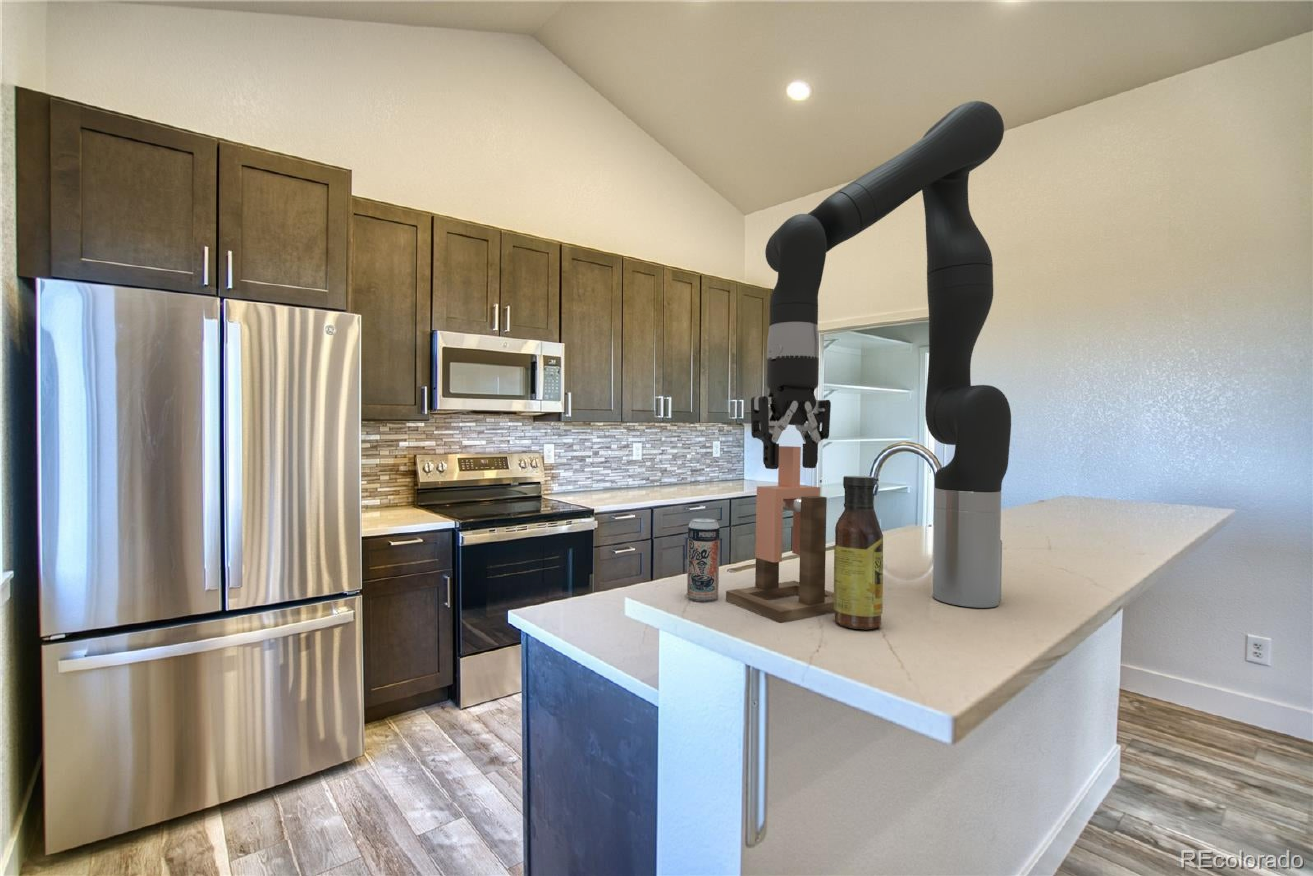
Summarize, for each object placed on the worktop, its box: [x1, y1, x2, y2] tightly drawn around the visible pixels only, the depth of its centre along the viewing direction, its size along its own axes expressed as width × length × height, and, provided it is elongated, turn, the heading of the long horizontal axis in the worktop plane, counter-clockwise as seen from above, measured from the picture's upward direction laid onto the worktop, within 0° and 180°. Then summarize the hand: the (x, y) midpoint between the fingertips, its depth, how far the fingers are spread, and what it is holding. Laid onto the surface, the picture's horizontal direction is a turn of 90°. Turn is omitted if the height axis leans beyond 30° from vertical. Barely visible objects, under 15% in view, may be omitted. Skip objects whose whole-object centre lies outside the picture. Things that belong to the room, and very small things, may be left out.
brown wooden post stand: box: [725, 495, 835, 624], centre depth 89 cm, size 14×12×16 cm
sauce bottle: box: [833, 475, 884, 631], centre depth 81 cm, size 7×6×20 cm
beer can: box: [686, 517, 720, 602], centre depth 92 cm, size 5×5×12 cm
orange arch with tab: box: [754, 445, 821, 563], centre depth 89 cm, size 9×4×16 cm, turn 122°
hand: (790, 468), depth 89 cm, fingers open, 7 cm apart
